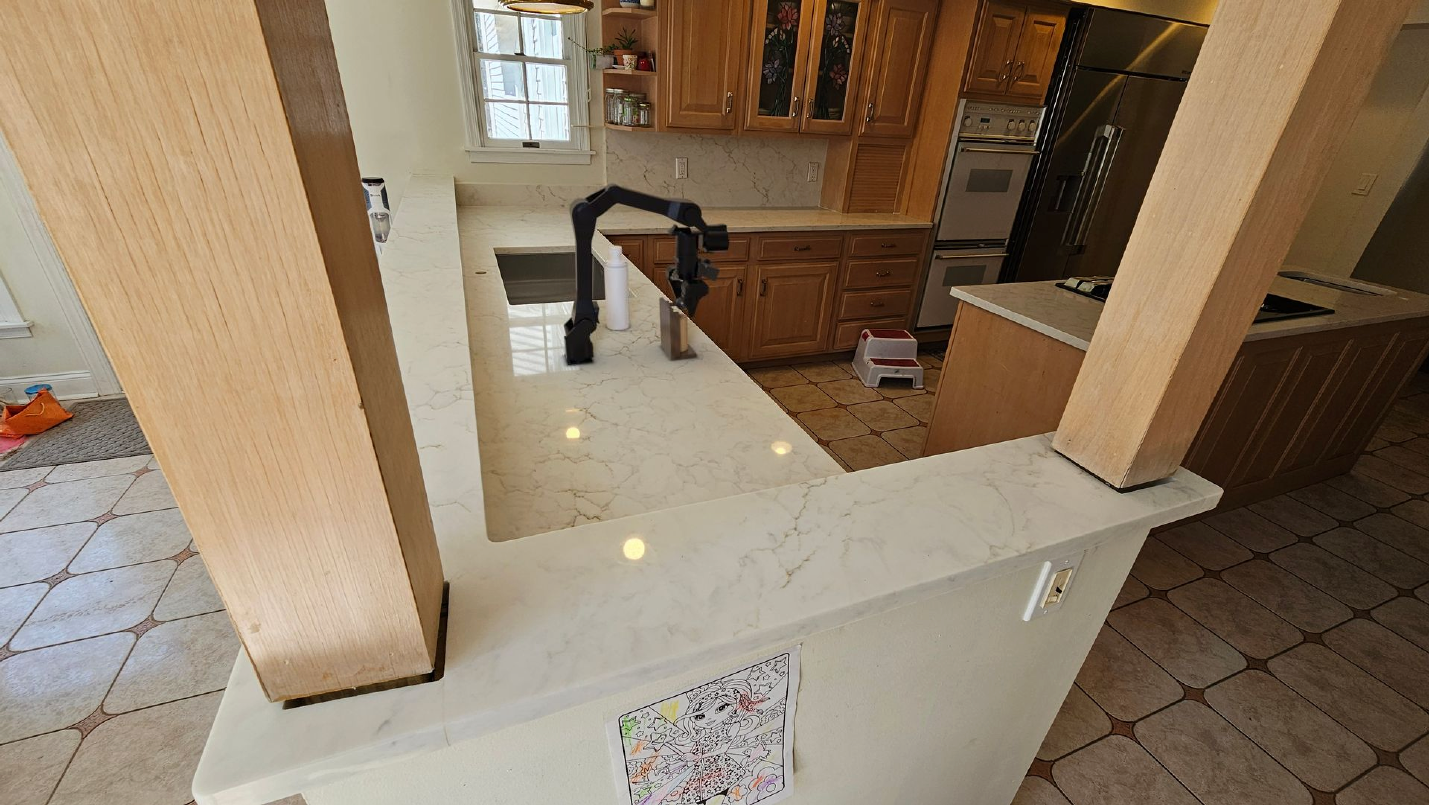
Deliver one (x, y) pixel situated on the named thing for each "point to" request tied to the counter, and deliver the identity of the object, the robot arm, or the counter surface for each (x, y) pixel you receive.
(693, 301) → the robot arm
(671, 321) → the tipping cradle
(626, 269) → the spray bottle
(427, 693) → the counter surface
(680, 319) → the paper roll
